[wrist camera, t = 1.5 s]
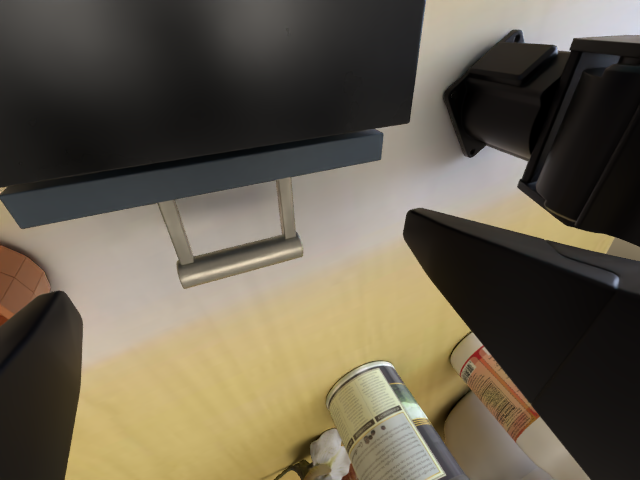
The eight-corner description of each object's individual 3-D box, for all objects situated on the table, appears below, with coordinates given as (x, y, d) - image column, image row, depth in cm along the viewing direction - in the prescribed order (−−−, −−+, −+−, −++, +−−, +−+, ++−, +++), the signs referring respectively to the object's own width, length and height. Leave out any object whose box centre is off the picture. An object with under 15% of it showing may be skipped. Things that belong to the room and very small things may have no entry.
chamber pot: (410, 413, 53) (513, 576, 38) (538, 330, 56) (684, 450, 40) (425, 454, 71) (500, 575, 56) (522, 390, 74) (619, 488, 58)
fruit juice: (488, 314, 44) (787, 582, 23) (504, 333, 50) (752, 559, 29) (439, 357, 46) (678, 647, 24) (459, 370, 52) (666, 613, 30)
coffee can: (406, 355, 41) (491, 471, 31) (377, 402, 46) (442, 518, 35) (340, 366, 36) (414, 510, 26) (314, 418, 41) (369, 558, 30)
